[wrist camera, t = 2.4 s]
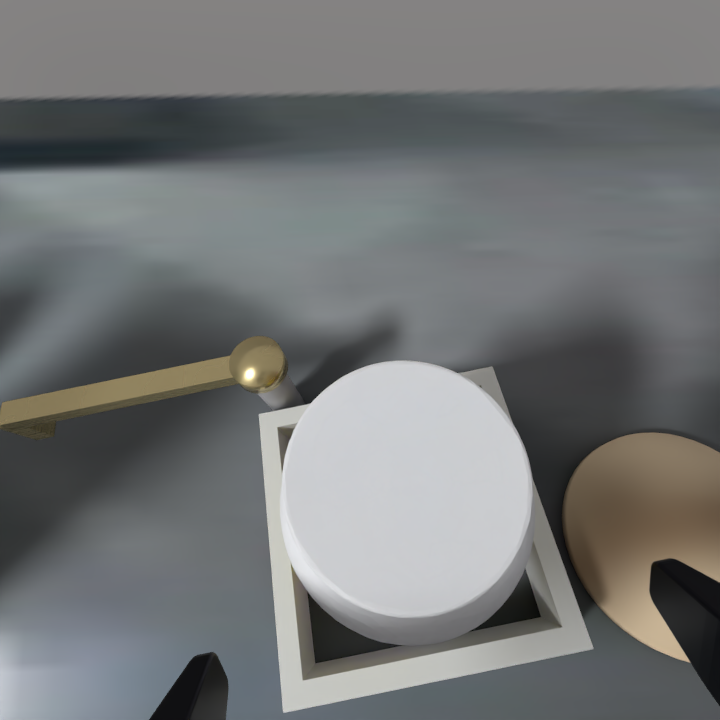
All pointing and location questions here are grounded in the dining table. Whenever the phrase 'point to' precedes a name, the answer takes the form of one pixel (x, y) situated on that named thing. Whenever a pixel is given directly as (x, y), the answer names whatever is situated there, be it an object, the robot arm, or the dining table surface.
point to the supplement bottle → (407, 503)
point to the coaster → (642, 524)
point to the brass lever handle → (149, 388)
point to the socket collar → (404, 663)
